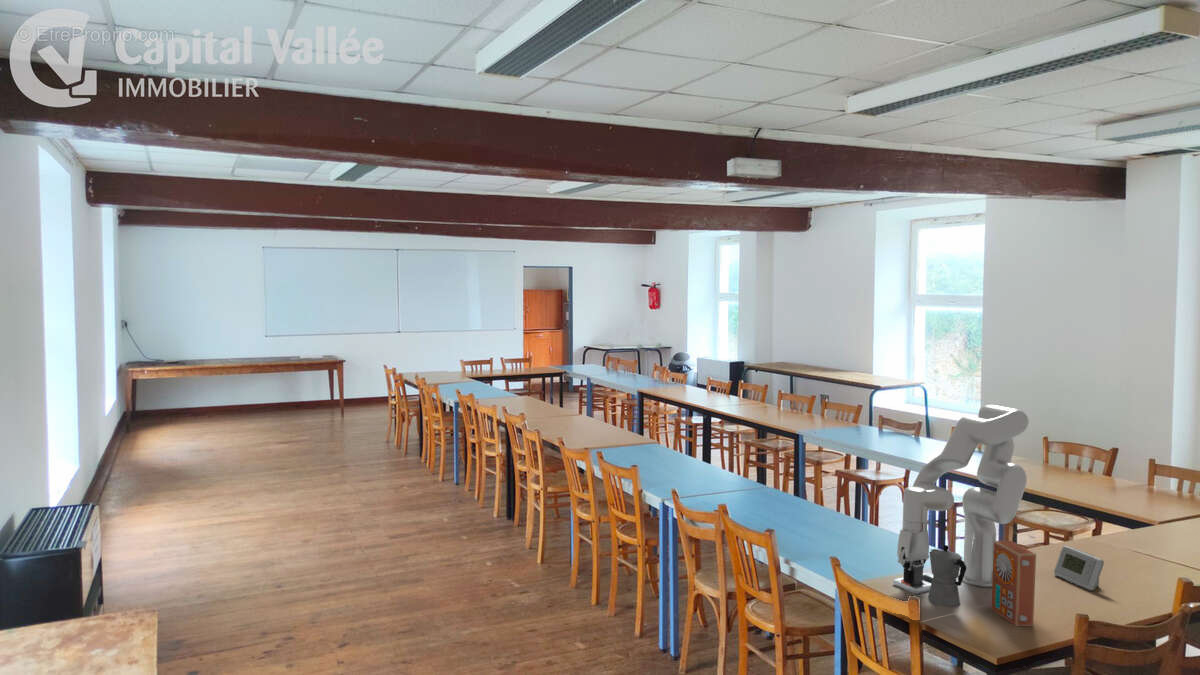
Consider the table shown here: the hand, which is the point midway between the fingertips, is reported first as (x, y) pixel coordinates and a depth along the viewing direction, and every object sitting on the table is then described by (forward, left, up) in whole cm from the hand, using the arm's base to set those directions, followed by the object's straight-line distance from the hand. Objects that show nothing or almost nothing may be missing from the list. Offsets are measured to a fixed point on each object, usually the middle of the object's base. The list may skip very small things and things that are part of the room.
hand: (913, 579), depth 251 cm
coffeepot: (-11, +8, -3) cm, 14 cm away
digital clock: (-48, -34, -3) cm, 59 cm away
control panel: (-29, +10, -3) cm, 31 cm away
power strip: (-2, -3, -3) cm, 5 cm away
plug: (0, 0, -3) cm, 3 cm away
